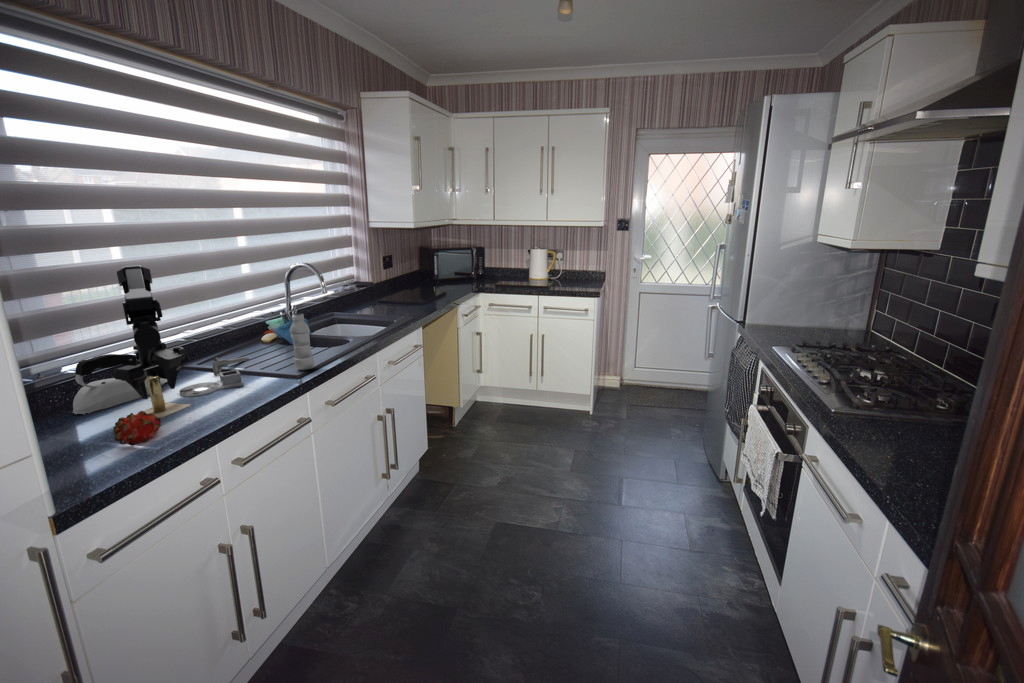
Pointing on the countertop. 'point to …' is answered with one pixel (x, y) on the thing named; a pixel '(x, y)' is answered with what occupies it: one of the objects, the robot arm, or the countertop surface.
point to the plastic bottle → (301, 343)
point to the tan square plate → (167, 409)
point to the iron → (104, 384)
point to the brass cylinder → (156, 394)
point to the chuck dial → (214, 384)
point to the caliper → (225, 363)
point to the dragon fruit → (136, 428)
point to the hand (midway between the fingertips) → (159, 393)
